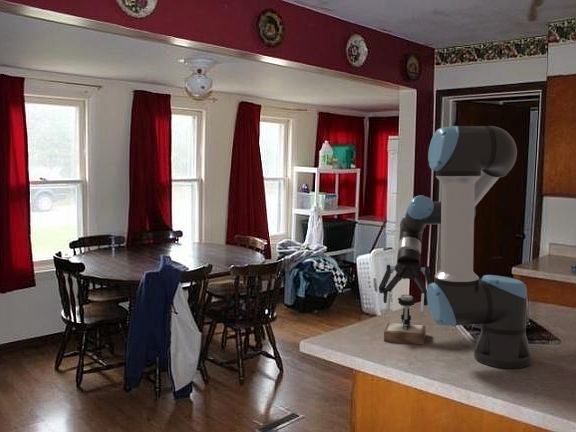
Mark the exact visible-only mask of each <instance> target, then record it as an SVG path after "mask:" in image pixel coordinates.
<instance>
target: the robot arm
mask: <svg viewBox="0 0 576 432" xmlns="http://www.w3.org/2000/svg"><path fill="white" fill-rule="evenodd" d="M427 155H428V156H427V157H428V158H427V160H428V166H429V168H430V170H432V171H434V172H435V178H436V179H437V180H439V182H440V184H441V194H440V195H441V197H440V198H441V199H440V200H441V201H433V200H432V199H431V198H430V197H428V196H425V195H417V196H413V198H412V199H411V201H410V202H409V204H408V206H407V210H406V212H405V214H403V215H402V216H401V220H400V223H399V235H398V237H399V239H398V248H397V256H396V257H397V259H396V264H395V265H390V264H387V265H386V269H385V270H386V271H385V273H384V275H383V276H382V279H381V282H380V283H379V286H378V292H379V294H383V298H382V299H383V303H384V304H385V312H386V313H385V314H387V315H389V314H390V306H391V297H392V296H391V292H392V291H393V289H394V288H395V287H396V286H397V284H398V283H399V282H400V281H401V280H406V279H407V280H413V281H414V283H416V285H417V286H418V288H419V290H420V291H421V297H420V317H424V314H425V313H424V312H425V311H424V309H425V307H426V306H427V307H428V310H429V312H430V315H431V316H432V317H431V318H433V320H434V322H435V323H436V324H438V325H439V326H449V327H450V326H452V327H456V326H471V325H472V326H473V325H481V326H480V327H481V328H480V329H481V330H480V333H479V336H478V338H477V341H476V343H475V346H474V353H473V354H474V355H473V357H474V359H475V360H476V361H478V362H479V363H481V364H483V365H487V366H491V367H495V368H501V369H521V368H526V367H529V366H531V365H532V361H533V355H532V354H533V353H532V351H531V346H530V344H529V341H528V338H527V330H526V329H527V308H528V307H527V304H528V292H527V290H528V289H527V285H526V284H525V283H524V282H523V281H521V280H519V279H516V278H512V277H509V276H501V275H495V274H485V275H483V276H482V277H481V278H482V282H479V278H480V277H479V276H478V275H477V273H475V272H474V241H475V240H474V237H475V236H474V234H475V217H476V210H477V209H476V207H477V205H478V204H479V202H480V201H482V200H483V198H484V196H485V195H486V194H487V193H488V192H489V191H490V189H491V188H492V187H493V186H494V184H496V182H497V181H498V180H499V178H503V177H505V176H507V175H508V174H509V172H510V171H511V170H512V169H513V167H514V166H515V163H516V161H517V157H518V156H517V155H518V148H517V144H516V142H515V139H514V138H513V137H512V135H510V133H509V132H508V131H506V130H505V129H503V128H500V127H498V126H494V125H493V126H492V125H486V126H485V125H484V126H483V125H480V126H479V125H477V126H475V125H452V126H443V127H439V128H438V129H437V130H436V131H435V132H434V133H433V135H432V137H431V140H430V143H429V147H428V153H427ZM427 225H428V226H429V225H431V226H432V225H440V269H439V270H438V271H439V272H438V271H437V272H436V274H434V282H432V279H431V275H430V266H429V265H427V266H425V267H422V266H421V256H422V255H421V254H422V240H423V232H424V230H425V228H426V227H427ZM394 271H395V274H394V276H393V278H392V279H391V280H390V278H391V274H393V272H394ZM420 273H422V275H424V277H425V280H426V281H425V282H426V285H427V287H426V286H425V284H424V282H423V281H422V279H421V277H420V276H419V274H420Z"/></svg>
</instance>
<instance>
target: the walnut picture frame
mask: <svg viewBox="0 0 576 432" xmlns="http://www.w3.org/2000/svg"><path fill="white" fill-rule="evenodd" d="M426 329H427V327H426V325H425V324H424V325H423V324H412V323H411V327H410V326H409V327H408V329H403V323H394V322H387V324H386V327H385V329H384V331H383V342H389V343H390V342H391V343H403V344H416V345H424V344H425V339H426Z"/></svg>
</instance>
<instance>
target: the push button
mask: <svg viewBox="0 0 576 432" xmlns="http://www.w3.org/2000/svg"><path fill="white" fill-rule="evenodd" d="M397 300H398V304H399V305H400V306H401V307H402V314H401V315H400V317H401V318H400V319H401V321H400V323H402V324H403V329H408V327H409V326H410V327H411V324H412V322H411V320H412V315H410V307H412V306H414V305H415V302H416V298H414V297H413V295H410V294H401V295H400V297H398V298H397Z"/></svg>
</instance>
